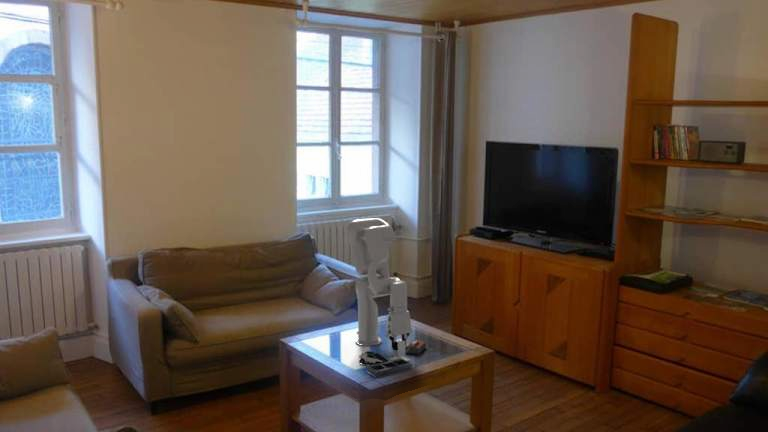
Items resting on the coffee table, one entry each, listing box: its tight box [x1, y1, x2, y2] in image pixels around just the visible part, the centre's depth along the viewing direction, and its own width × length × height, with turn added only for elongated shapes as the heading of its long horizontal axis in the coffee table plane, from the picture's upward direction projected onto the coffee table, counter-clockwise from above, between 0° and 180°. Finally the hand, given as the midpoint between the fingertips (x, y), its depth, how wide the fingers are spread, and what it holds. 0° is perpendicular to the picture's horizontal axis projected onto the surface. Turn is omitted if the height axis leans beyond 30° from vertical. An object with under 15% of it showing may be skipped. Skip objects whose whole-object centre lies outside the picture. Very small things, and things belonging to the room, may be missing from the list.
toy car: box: [358, 350, 389, 365], centre depth 298 cm, size 6×12×5 cm, turn 58°
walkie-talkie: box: [405, 339, 426, 355], centre depth 313 cm, size 9×4×20 cm
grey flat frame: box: [366, 358, 413, 378], centre depth 290 cm, size 18×8×2 cm, turn 122°
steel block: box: [392, 337, 406, 357], centre depth 302 cm, size 4×4×7 cm
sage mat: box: [387, 356, 411, 362], centre depth 303 cm, size 7×7×1 cm
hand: (399, 348), depth 302 cm, fingers closed on steel block, 4 cm apart
